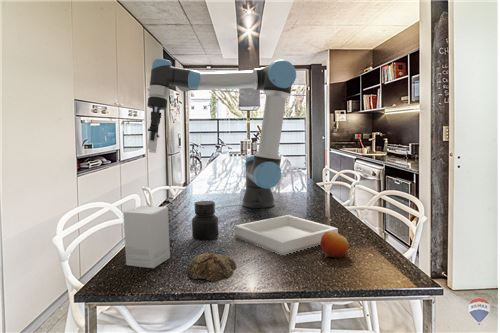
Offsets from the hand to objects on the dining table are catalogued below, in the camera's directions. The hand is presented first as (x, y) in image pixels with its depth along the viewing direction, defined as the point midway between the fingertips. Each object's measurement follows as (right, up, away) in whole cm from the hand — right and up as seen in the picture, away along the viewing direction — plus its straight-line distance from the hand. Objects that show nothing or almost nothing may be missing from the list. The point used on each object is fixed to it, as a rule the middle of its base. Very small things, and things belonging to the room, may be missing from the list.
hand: (151, 151), depth 150 cm
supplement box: (+10, -33, -43) cm, 55 cm away
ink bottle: (+24, -30, -21) cm, 44 cm away
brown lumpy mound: (+29, -34, -51) cm, 68 cm away
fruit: (+63, -32, -41) cm, 81 cm away
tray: (+50, -30, -24) cm, 63 cm away
